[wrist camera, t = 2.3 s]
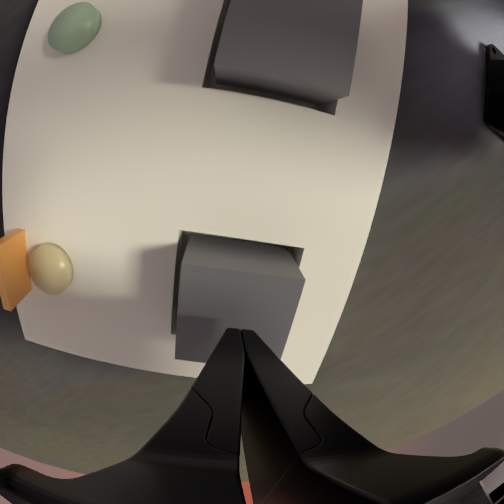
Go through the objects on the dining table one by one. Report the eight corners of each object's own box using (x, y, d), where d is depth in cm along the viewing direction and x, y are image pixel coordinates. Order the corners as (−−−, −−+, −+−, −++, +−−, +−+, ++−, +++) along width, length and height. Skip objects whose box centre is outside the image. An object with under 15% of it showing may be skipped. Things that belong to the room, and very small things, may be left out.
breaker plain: (332, 23, 9) (363, -4, 6) (318, 105, 10) (348, 95, 7) (237, -1, 8) (242, -37, 5) (216, 83, 10) (213, 64, 7)
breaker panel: (378, 13, 10) (432, -19, 5) (299, 349, 17) (321, 411, 12) (83, -23, 8) (44, -61, 3) (47, 311, 14) (9, 361, 10)
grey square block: (286, 246, 12) (305, 279, 9) (267, 325, 14) (277, 368, 11) (190, 233, 12) (181, 263, 9) (182, 315, 13) (174, 358, 10)
